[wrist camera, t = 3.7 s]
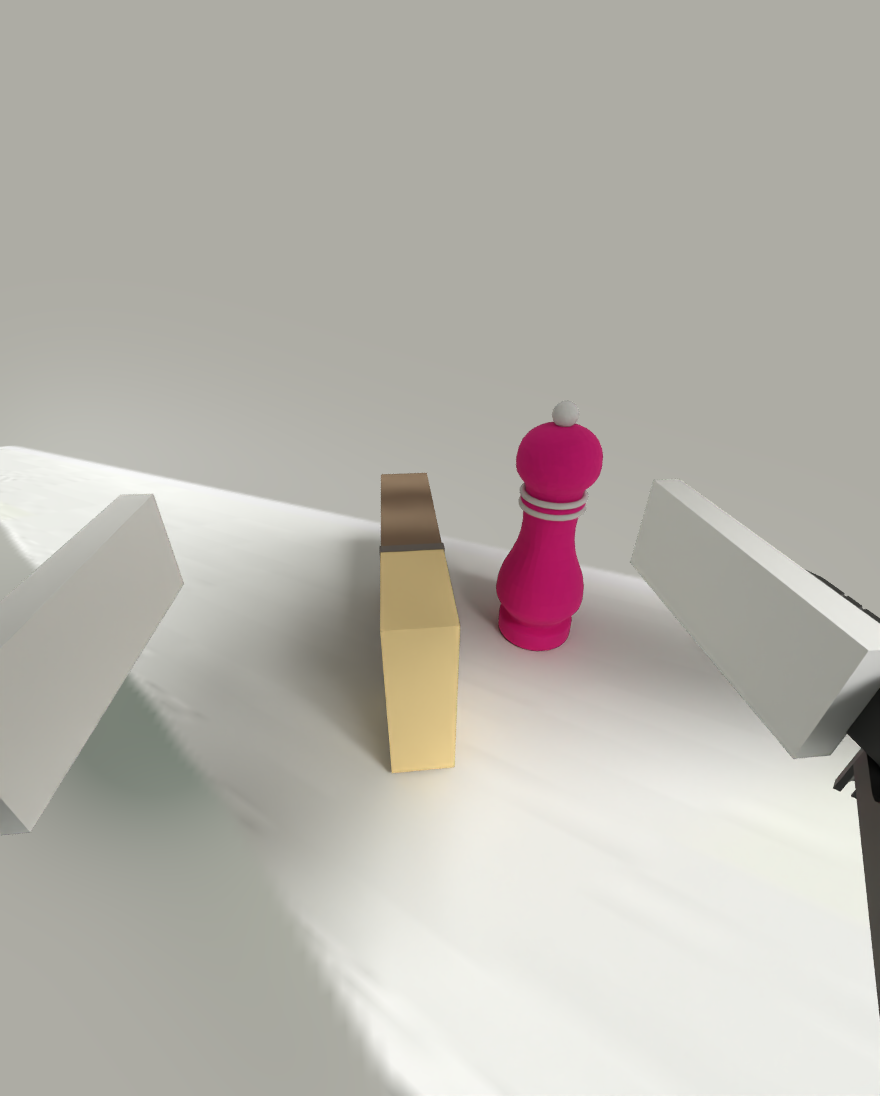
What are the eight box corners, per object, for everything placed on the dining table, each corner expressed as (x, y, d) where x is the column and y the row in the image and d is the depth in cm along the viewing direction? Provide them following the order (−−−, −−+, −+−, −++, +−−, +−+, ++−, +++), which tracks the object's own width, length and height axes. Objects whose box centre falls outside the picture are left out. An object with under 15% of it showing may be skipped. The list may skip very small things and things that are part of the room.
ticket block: (440, 671, 37) (441, 543, 30) (390, 675, 36) (380, 546, 30) (427, 582, 47) (426, 472, 40) (388, 584, 46) (381, 474, 40)
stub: (455, 767, 29) (461, 624, 23) (391, 773, 29) (379, 630, 23) (441, 673, 36) (443, 542, 30) (389, 677, 36) (379, 545, 29)
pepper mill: (481, 608, 43) (497, 391, 33) (551, 596, 45) (588, 386, 34) (510, 663, 37) (541, 420, 27) (589, 647, 39) (648, 412, 28)
